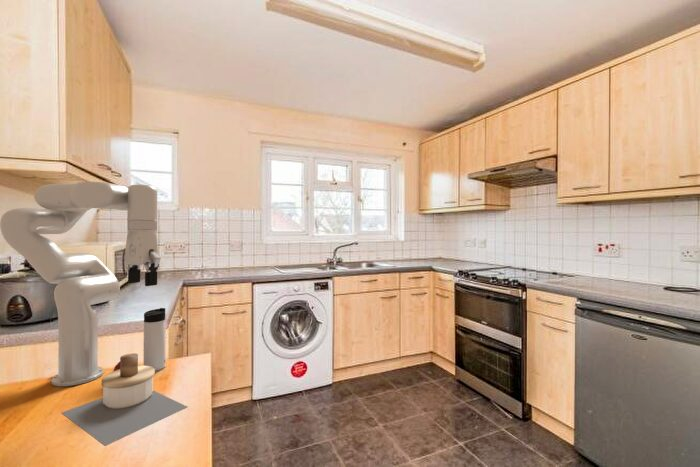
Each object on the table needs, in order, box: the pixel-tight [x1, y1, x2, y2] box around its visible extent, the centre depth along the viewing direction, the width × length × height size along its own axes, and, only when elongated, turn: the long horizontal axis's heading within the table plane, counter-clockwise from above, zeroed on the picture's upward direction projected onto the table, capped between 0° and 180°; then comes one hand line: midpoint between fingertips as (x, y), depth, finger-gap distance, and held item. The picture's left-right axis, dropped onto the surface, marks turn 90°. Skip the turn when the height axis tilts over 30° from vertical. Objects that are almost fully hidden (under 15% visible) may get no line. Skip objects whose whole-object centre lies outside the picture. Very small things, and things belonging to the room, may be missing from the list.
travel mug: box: [143, 307, 167, 373], centre depth 110 cm, size 6×7×20 cm
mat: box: [61, 389, 188, 447], centre depth 85 cm, size 24×19×1 cm
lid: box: [101, 353, 156, 388], centre depth 90 cm, size 12×12×6 cm
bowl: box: [102, 376, 154, 409], centre depth 90 cm, size 11×11×6 cm
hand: (142, 284), depth 99 cm, fingers open, 9 cm apart
